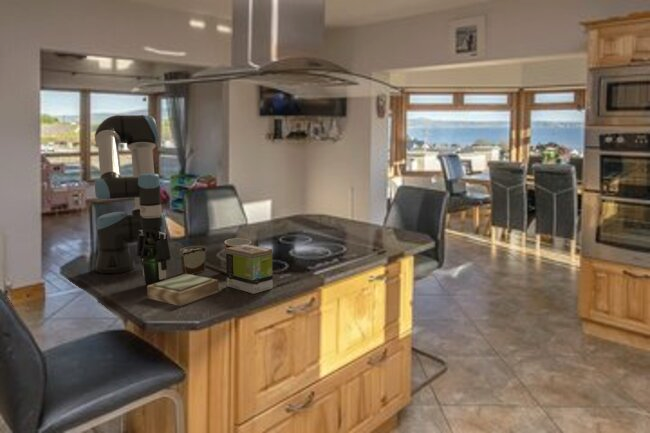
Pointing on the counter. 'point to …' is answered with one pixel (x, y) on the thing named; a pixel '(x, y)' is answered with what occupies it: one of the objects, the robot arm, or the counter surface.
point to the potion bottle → (151, 264)
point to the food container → (193, 259)
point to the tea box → (249, 268)
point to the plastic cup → (236, 242)
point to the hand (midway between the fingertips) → (154, 276)
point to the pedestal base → (182, 289)
